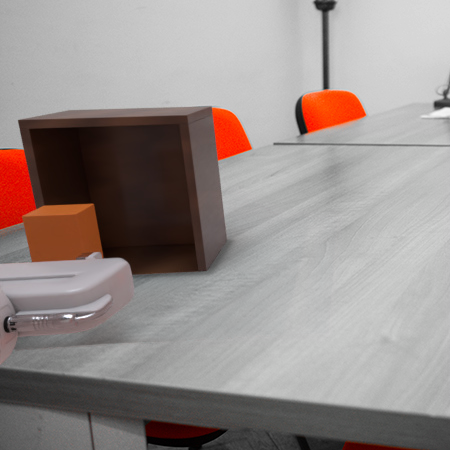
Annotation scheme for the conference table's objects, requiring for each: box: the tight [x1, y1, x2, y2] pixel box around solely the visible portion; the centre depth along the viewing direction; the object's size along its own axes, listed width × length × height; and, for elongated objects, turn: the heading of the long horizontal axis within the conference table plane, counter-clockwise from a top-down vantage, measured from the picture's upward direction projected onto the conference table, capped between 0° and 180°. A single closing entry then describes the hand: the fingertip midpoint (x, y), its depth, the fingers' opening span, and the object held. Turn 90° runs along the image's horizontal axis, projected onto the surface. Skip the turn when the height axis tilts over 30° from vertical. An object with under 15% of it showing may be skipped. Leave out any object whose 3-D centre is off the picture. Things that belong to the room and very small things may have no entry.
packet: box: [21, 204, 104, 262], centre depth 58 cm, size 5×4×12 cm
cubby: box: [17, 105, 228, 276], centre depth 71 cm, size 18×12×20 cm, turn 95°
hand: (41, 262), depth 52 cm, fingers open, 8 cm apart
